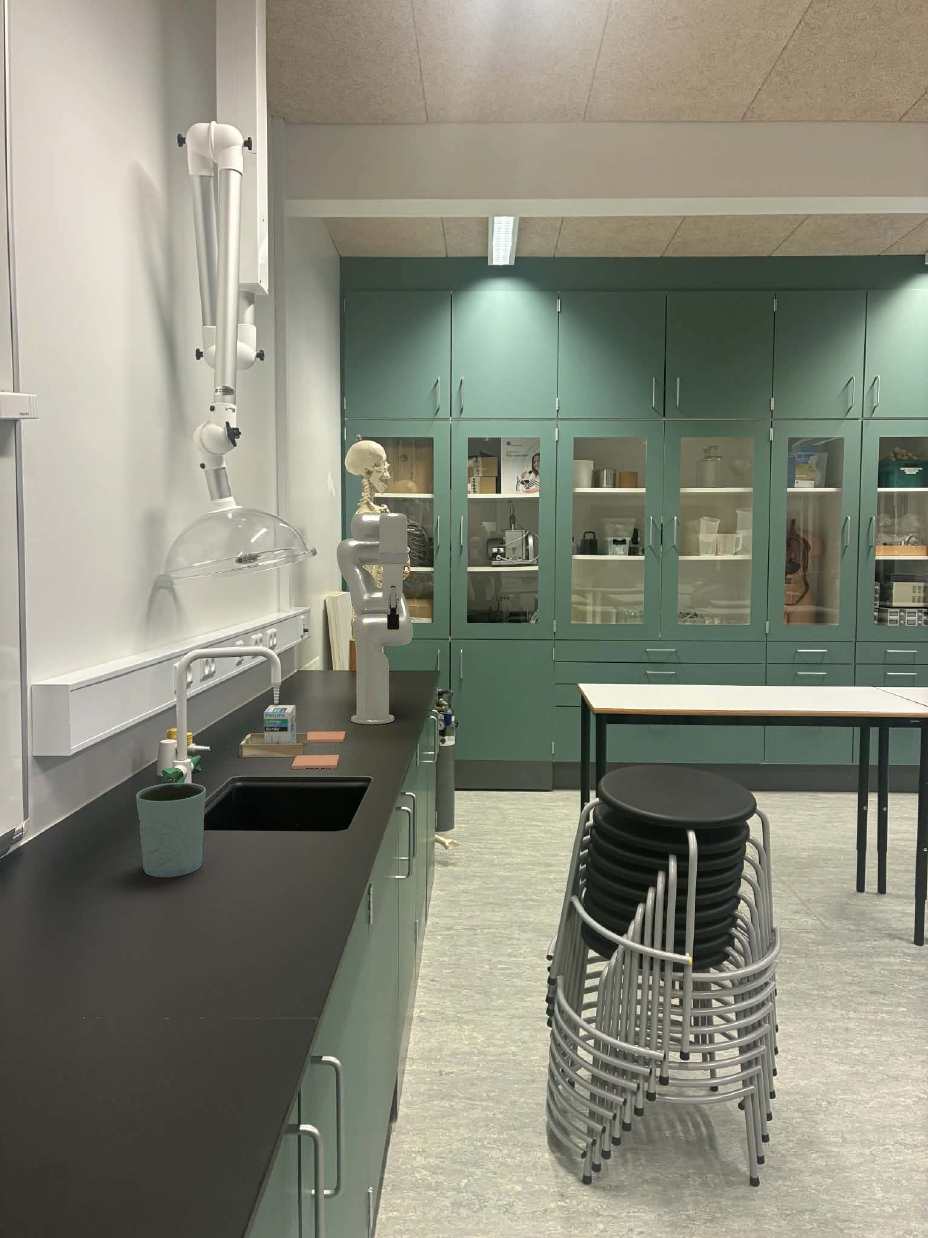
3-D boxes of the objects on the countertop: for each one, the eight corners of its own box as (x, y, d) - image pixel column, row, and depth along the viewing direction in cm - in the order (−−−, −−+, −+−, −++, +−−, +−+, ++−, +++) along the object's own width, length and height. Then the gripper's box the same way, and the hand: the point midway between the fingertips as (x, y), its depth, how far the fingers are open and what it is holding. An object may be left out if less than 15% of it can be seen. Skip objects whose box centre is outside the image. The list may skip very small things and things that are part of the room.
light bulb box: (291, 755, 205) (291, 711, 205) (263, 756, 205) (262, 712, 204) (296, 746, 216) (296, 704, 215) (269, 746, 215) (269, 704, 215)
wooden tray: (248, 745, 217) (248, 733, 216) (307, 744, 218) (307, 733, 218) (239, 757, 203) (239, 745, 203) (301, 756, 204) (301, 744, 204)
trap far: (308, 734, 230) (308, 731, 230) (345, 734, 231) (345, 731, 231) (304, 742, 220) (304, 739, 220) (343, 742, 221) (343, 739, 221)
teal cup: (204, 853, 137) (203, 780, 136) (209, 875, 128) (208, 796, 127) (137, 861, 133) (135, 786, 133) (137, 884, 124) (135, 803, 123)
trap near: (296, 758, 202) (296, 755, 202) (338, 758, 203) (338, 755, 203) (291, 769, 192) (291, 765, 192) (336, 768, 193) (336, 765, 193)
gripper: (379, 560, 231) (379, 627, 232) (378, 560, 216) (378, 631, 217) (406, 560, 231) (406, 627, 233) (407, 560, 216) (407, 631, 218)
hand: (393, 629), depth 225 cm, fingers closed
